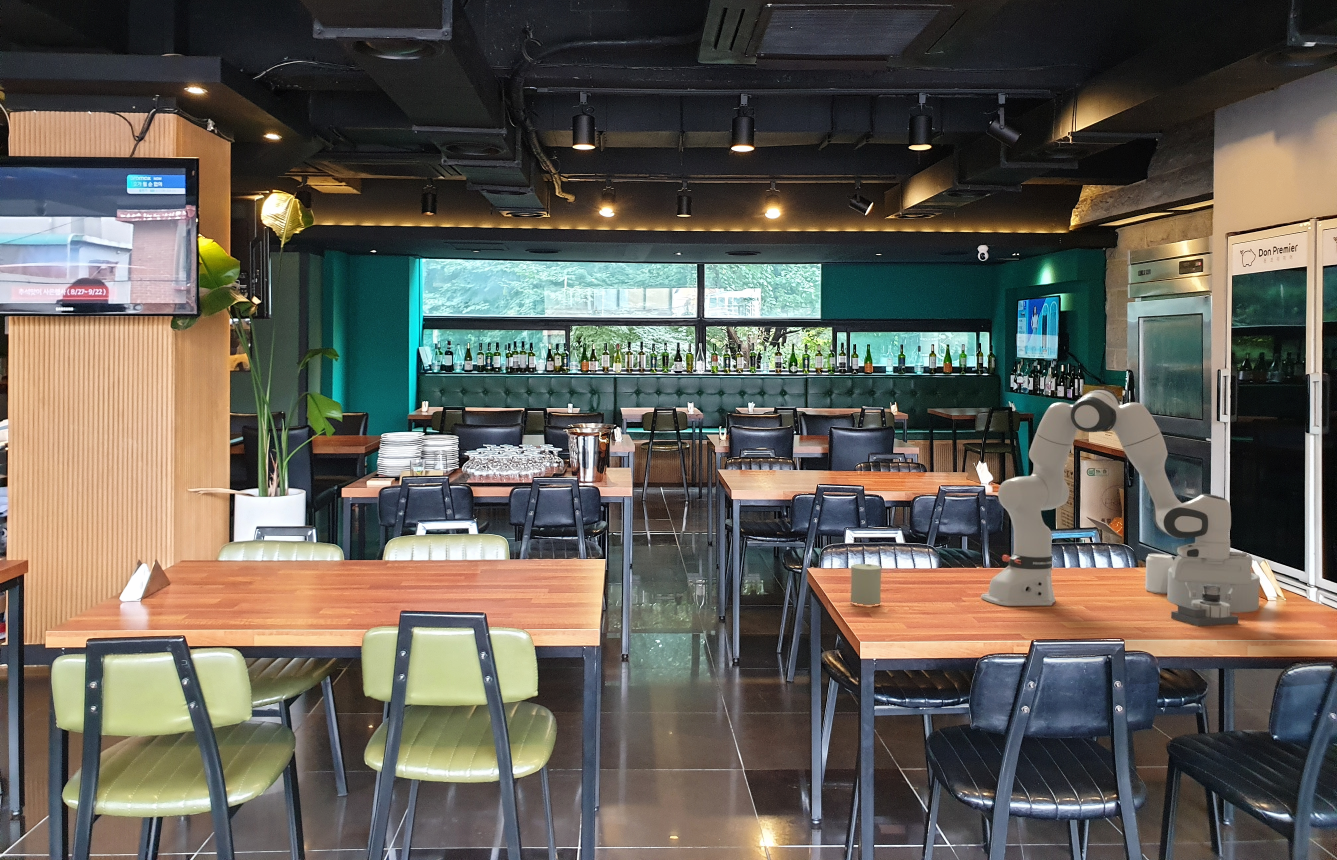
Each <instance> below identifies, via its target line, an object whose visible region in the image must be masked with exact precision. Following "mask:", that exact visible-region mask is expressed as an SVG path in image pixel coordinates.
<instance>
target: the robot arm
mask: <svg viewBox="0 0 1337 860" xmlns="http://www.w3.org/2000/svg"><path fill="white" fill-rule="evenodd" d="M1079 431H1081V432H1085V433H1100V432H1104V433H1105V432H1110V431H1113V432H1114V434H1115V435H1116V437H1117V438H1118V441H1119V443H1120V445H1121V447H1122V449H1123V451H1124V454H1125V455H1126V457H1127V459H1128V460H1129V462H1130V463H1131V465H1133V467H1134V468H1135V469H1136V471H1137V473H1139V475H1140V477H1141V478H1142V480H1143V482H1144V485H1145V486H1146V489H1147V492H1148V493H1149V496H1150V498H1151V500H1152V501H1151V502H1152V503H1153V521H1154V525H1156V527H1157V528H1158V530H1159V531H1160V532H1162V533H1164V534H1166V535H1168V536H1170V537H1172V538H1174V539H1180V540H1182V539H1189V538H1194V539H1195V540H1194V542H1193V543H1189V544H1184V545H1181V546H1178V547H1177V549H1176V550H1177V554H1178V555H1176V556H1175V557H1174V559H1173V560H1174V563H1173V569H1172V577H1173V579H1174V580H1176V581H1178V582H1185V585H1186V587H1187V588H1188V590H1189V597H1190V598H1196V592H1195V591H1193V590H1192V588H1191V587H1190V586H1192V583H1193V582H1196V583H1215V584H1230V587H1231V589H1230V591H1229V592H1228V593H1225V595H1226V596H1225V599H1226V600H1232V599H1233V594H1234V592H1235V591H1236V590H1237V585H1249V584H1250V583H1251V582H1252V575H1251V573H1252V569H1251V567H1252V565H1253V558H1252V556H1251V554H1249V553H1247V552H1246V551H1245V552H1244V551H1241V552H1239V551H1231V539H1230V531H1231V526H1232V512H1231V505H1230V502H1229V501H1228V500H1227V499H1226V498H1225V497H1222V496H1218V495H1216V494H1215V495H1214V494H1210V493H1200V495H1198V496H1197V497H1195V498H1193V499H1190V500H1189V501H1185V502H1182V501H1180V500H1179V499H1178V498H1177V496H1176V495H1175V492H1174V490H1173V488H1172V486H1171V483H1170V480H1169V479H1168V478H1169V477H1168V476H1167V473H1166V470H1165V466H1166V465H1165V464H1166V460H1167V458H1168V454H1169V453H1168V450H1167V446H1166V442H1165V440H1164V436H1163V435H1162V432H1161V430H1160V428H1159V426H1158V425H1157V423H1156V421H1155V419H1154V417H1153V416H1152V414H1151V413H1150V411H1149V409H1147V408H1146V406H1145V405H1144V404H1142V403H1140V402H1135V401H1134V402H1133V401H1132V402H1127V403H1124V404H1121V401H1120V399H1119V397H1118V396H1117V394H1116V393H1115V392H1113V391H1111V390H1110V389H1107V388H1097V389H1093V390H1091V391H1089V392H1087V393H1085V394H1083V395H1082V396H1081V397H1080V398H1079V399H1077V400H1076V401H1075V403H1073V404H1070V403H1067V402H1062V401H1060V402H1059V401H1058V402H1054V403H1052V404H1051V405H1050V406H1049V407H1048V408H1047V409H1046V411H1045V413H1044V414H1043V416H1042V419H1041V421H1040V422H1039V425H1038V426H1037V430H1036V433H1035V434H1034V437H1033V440H1032V443H1031V445H1030V449H1029V452H1028V458H1029V459H1030V460H1031V462H1032V463H1033V470H1032V473H1031V475H1027V476H1026V475H1025V476H1015V477H1012V478H1009V479H1006V480H1004V481H1002V483H1001V484H1000V486H999V487H998V489H997V490H998V491H997V497H998V501H999V503H1000V505H1001V506H1002V507H1003V508H1004V509H1005V510H1006V511H1007V513H1008V515H1009V518H1010V520H1011V524H1012V529H1013V552H1012V554H1011V556H1010V555H1007V554H1003V555H1002V558H1001V559H1002V561H1003V562H1006V563H1008V565H1007V566H1006V567H1005V568H1003V570H1001V571H1000V572H999V573H997V574H996V575H995V576H993V577H992V578H991V580H990V583H989V586H988V587H989V588H988V592H986V593H982V594H981V596H980V597H981V599H982V600H984V601H987V602H989V603H992V604H995V605H1001V606H1005V607H1006V606H1007V607H1018V606H1019V607H1023V606H1024V607H1025V606H1026V607H1027V606H1029V607H1030V606H1031V607H1032V606H1053V605H1054V603H1056V598H1055V592H1054V589H1053V580H1052V579H1053V578H1052V570H1053V556H1052V530H1051V529H1050V528H1049V526H1047V525H1046V524H1045V522H1044V519H1043V517H1042V511H1048V510H1049V511H1050V510H1051V511H1052V510H1053V509H1056V508H1060V507H1061V506H1064V505H1065V504H1066V503H1067V501H1068V500H1069V497H1070V487H1069V484H1068V483H1067V481H1066V480H1065V469H1066V464H1067V461H1068V458H1069V455H1070V453H1071V449H1072V446H1073V443H1074V441H1075V439H1076V436H1077V434H1078V432H1079Z"/></svg>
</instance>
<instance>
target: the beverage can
mask: <svg viewBox="0 0 1337 860" xmlns="http://www.w3.org/2000/svg"><path fill="white" fill-rule="evenodd" d="M1173 563H1174V559H1173V555H1170V554H1165V553H1148V554H1147V557H1146V558H1145V588H1144V589H1145V590H1146V591H1148V592H1149V593H1153V594H1158V595H1159V594H1163V595H1164V594H1165V595H1167V592H1168V569H1169V568H1171V567H1173Z"/></svg>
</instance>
